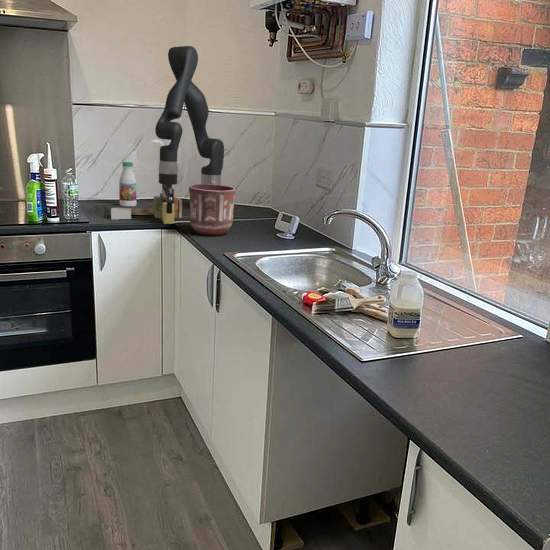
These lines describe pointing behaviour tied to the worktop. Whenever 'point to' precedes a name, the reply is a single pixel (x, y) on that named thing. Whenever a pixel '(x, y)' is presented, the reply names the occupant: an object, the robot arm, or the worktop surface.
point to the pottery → (211, 208)
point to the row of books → (160, 208)
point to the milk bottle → (127, 186)
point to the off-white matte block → (121, 213)
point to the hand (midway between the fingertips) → (167, 211)
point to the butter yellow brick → (167, 215)
